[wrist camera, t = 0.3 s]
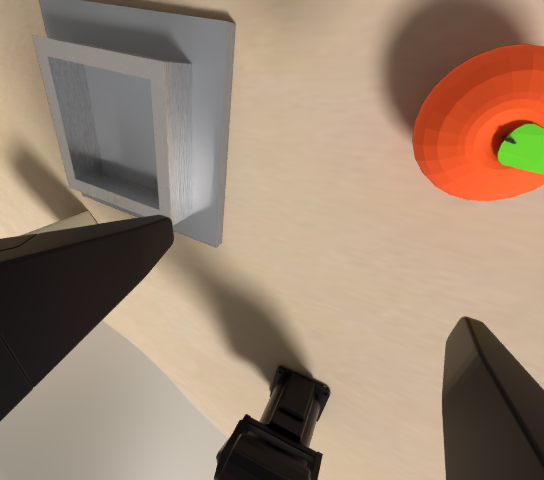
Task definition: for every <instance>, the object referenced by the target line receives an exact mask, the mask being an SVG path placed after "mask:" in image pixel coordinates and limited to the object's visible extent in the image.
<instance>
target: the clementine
mask: <svg viewBox="0 0 544 480" xmlns="http://www.w3.org/2000/svg"><path fill="white" fill-rule="evenodd" d="M412 142H413V149H414V155H415V159H416V161H417V163H418V165H419V167H420V169H421V171H422V172H423V174H424V175H425V176H426V177H427V178H428V179H429V180H430V181H431V182H432V183H433V184H434V185H435V186H436V187H437V188H439V189H441V190H443V191H444V192H446V193H448V194H450V195H452V196H456V197H459V198H463V199H466V200H478V201H492V200H499V199H505V198H511V197H515V196H518V195H520V194H523V193H526V192H529V191H532V190H535V189H537V188H538V187H540V186H542V185H543V184H544V46H537V45H530V44H519V45H511V46H503V47H498V48H495V49H492V50H490V51H487V52H484V53H481V54H478V55H476V56H474V57H472V58H470V59H469V60H467V61H465V62H464V63H462V64H461V65H459V66H457V67H456V68H454V69H453V70H451V71H450V72H449V73H448V74H447V75H446V76H445V77H444V78H443V79H442V80H441V81H440V82H439V83H438V84H437V85H435V87H434V88H433V89H432V91H431V92H430V94H429V95H428V97H427V98H426V99H425V101H424V102H423V104H422V106H421V108H420V111H419V113H418V116H417V118H416V121H415V124H414V132H413V139H412Z"/></svg>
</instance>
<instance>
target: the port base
mask: <svg viewBox="0 0 544 480" xmlns="http://www.w3.org/2000/svg"><path fill="white" fill-rule="evenodd" d="M39 3H40V7H41V12H42V16H43V21H44V25H45V30H46V34H47V37H50V38H58V39H67V40H73V41H78V42H83V43H88V44H93V45H98V46H103V47H108V48H113V49H119V50H124V51H129V52H134V53H139V54H144V55H149V56H154V57H159V58H164V59H169V60H174V61H179V62H184V63H190V64H192V176H193V214H192V215H190V216H188V217H187V218H185V219H183V220H182V221H180V222H178V223H177V224H175V225H173V231H175V232H177V233H180V234H183V235H185V236H188V237H190V238H193V239H195V240H198V241H201V242H203V243H206V244H208V245H211V246H213V247H218V246H219V245H220V244H221V243H222V231H223V215H224V199H225V184H226V168H227V152H228V136H229V121H230V105H231V89H232V73H233V58H234V42H235V26H236V24H234V23H231V22H228V21H222V20H215V19H208V18H201V17H194V16H187V15H180V14H173V13H166V12H159V11H153V10H146V9H139V8H132V7H125V6H118V5H111V4H104V3H97V2H90V1H83V0H39ZM84 66H85V72H86V78H87V83H88V89H89V95H90V101H91V106H92V112H93V118H94V124H95V129H96V135H97V141H98V147H99V152H100V158H101V164H102V170H103V171H104V172H107V173H109V174H112V175H115V176H118V177H121V178H124V179H126V180H129V181H132V182H135V183H138V184H141V185H144V186H146V187H149V188H152V189H155V190H158V181H157V167H156V152H155V138H154V124H153V109H152V95H151V81H150V79H146V78H142V77H137V76H133V75H128V74H124V73H119V72H115V71H111V70H106V69H102V68H97V67H93V66H88V65H84ZM82 195H83V196H85V197H88V198H90V199H93V200H95V201H98V202H100V203H103V204H106V205H108V206H111V207H113V208H116V209H118V210H121V211H124V212H126V213H129V214H131V215H134V216H136V217H139V218H140V217H145V216H143V215H140V214H137V213H135V212H132V211H130V210H127V209H124V208H122V207H119V206H117V205H114V204H111V203H109V202H106V201H104V200H101V199H98V198H96V197H93V196H91V195H88V194H86V193H83V192H82Z"/></svg>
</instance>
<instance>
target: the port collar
mask: <svg viewBox="0 0 544 480" xmlns="http://www.w3.org/2000/svg"><path fill="white" fill-rule="evenodd" d="M32 37H33V41H34V45H35V49H36V53H37V57H38V61H39V65H40V70H41V74H42V78H43V82H44V86H45V90H46V94H47V98H48V102H49V106H50V110H51V114H52V119H53V123H54V127H55V131H56V135H57V139H58V143H59V147H60V151H61V155H62V159H63V163H64V168H65V172H66V176H67V180H68V184H69V187H70V188H73V189H75V190H78V191H80V192H83V193H86V194H88V195H91V196H93V197H96V198H98V199H101V200H104V201H106V202H109V203H111V204H114V205H117V206H119V207H122V208H124V209H127V210H130V211H132V212H135V213H137V214H140V215H143V216H145V217H146V216H153V215H163V216H166V217H169V218H170V219H171V220H172V224H173V225H175V224H177V223H178V222H180V221H182V220H183V219H185V218H187V217H188V216H190V215H192V214H193V176H192V64H190V63H184V62H179V61H174V60H169V59H164V58H159V57H154V56H149V55H144V54H139V53H134V52H129V51H124V50H119V49H113V48H108V47H103V46H98V45H93V44H88V43H83V42H78V41H73V40H67V39H58V38H50V37H42V36H34V35H32ZM84 65H88V66H93V67H97V68H102V69H106V70H111V71H115V72H119V73H124V74H128V75H133V76H137V77H142V78H146V79H150V81H151V95H152V109H153V124H154V138H155V152H156V167H157V181H158V190H155V189H152V188H149V187H146V186H144V185H141V184H138V183H135V182H132V181H129V180H126V179H124V178H121V177H118V176H115V175H112V174H109V173H107V172H104V171H103V170H102V164H101V158H100V152H99V147H98V141H97V135H96V129H95V124H94V118H93V112H92V106H91V101H90V95H89V89H88V83H87V78H86V72H85V66H84Z"/></svg>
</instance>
